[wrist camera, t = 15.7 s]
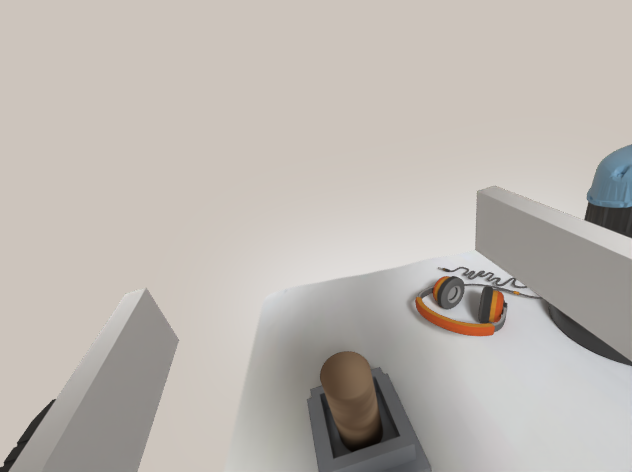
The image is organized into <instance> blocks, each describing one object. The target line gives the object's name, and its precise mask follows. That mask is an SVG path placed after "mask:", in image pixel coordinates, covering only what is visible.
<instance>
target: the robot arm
mask: <svg viewBox="0 0 632 472" xmlns="http://www.w3.org/2000/svg"><path fill="white" fill-rule="evenodd" d="M587 200H588V201H589V202H588V207H587V210H586V215H585V219H584V220H582V219H580V218H577V217H575V216H572V215H569V214H567V213H564V212H561V211H559V210H556V209H554V208H551V207H549V206H546V205H544V204H541V203H538V202H536V201H533V200H531V199H528V198H525V197H523V196H520V195H518V194H515V193H513V192H510V191H507V190H505V189H502V188H500V187H497V186H493V187H489V188H486V189H482V190H479V191H477V213H476V245H475V246H476V247H475V250H476V251H478V252H479V253H481V254H482V255H483V256H485V257H486V258H488V259H489V260H490V261H492V262H493V263H495V264H496V265H497V266H499V267H500V268H502V269H503V270H504V271H506V272H507V273H509V274H510V275H511V276H513V277H514V278H516V279H517V280H518V281H520V282H521V283H523V284H524V285H525V286H527V287H528V288H530V289H531V290H532V291H534V292H535V293H537V294H538V295H539V296H541V297H542V298H544V299H545V300H546V301H548V302H549V311H550V314H551V317H552V319H553V320H554V322H555V323H556V324H557V326H558V327H559V328H560V329H561V330H562V331H563V332H564V333H565V334H566V335H568V336H569V337H570V338H571V339H573V340H574V341H576V342H577V343H579V344H580V345H582V346H584V347H585V348H587V349H589V350H591V351H593V352H595V353H597V354H599V355H602V356H604V357H606V358H609V359H612V360H614V361H617V362H620V363H624V364H627V365H631V366H632V145H629V146H626V147H623V148H621V149H618V150H616V151H614V152H613V153H611V154H610V155H608V156H607V157H605V158H604V159H603V160H602V161H601V163H600V164H599V165H598V167H597V169H596V173H595V176H594V180H593V183H592V186H591V188H590V189H589V191H588V193H587ZM178 341H179V339H178V337H177V336H176V335H175V333H174V331H173V329H172V328H171V326H170V325H169V323H168V322H167V320H166V318H165V317H164V315H163V314H162V312H161V310H160V309H159V307H158V306H157V304H156V302H155V301H154V299H153V298H152V296H151V295H150V293H149V291H148V290H147V288H144V289H140V290H137V291H133V292H130V293H127V294H125V296H124V297H123V298H122V300H121V301H120V303H119V305H118V306H117V308H116V309H115V311H114V312H113V314H112V315H111V317H110V318H109V320H108V321H107V323H106V324H105V326H104V327H103V329H102V330H101V332H100V333H99V335H98V336H97V338H96V339H95V341H94V342H93V344H92V345H91V347H90V349H89V350H88V352H87V353H86V355H85V356H84V358H83V359H82V361H81V362H80V364H79V365H78V367H77V368H76V370H75V371H74V373H73V374H72V376H71V377H70V379H69V380H68V382H67V384H66V385H65V387H64V388H63V390H62V391H61V393H60V394H59V396H58V397H57V399H54V400H52V401H51V402H50V403H49V404H48V405H47V406H46V407H45V408H44V409H43V410H42V411H41V412H40V413H39V414H38V415H37V417H36V418H35V419H34V420H33V421H32V422H31V423H30V425H29V426H28V428H27V429H26V431H25V432H24V434H23V435H22V437H21V438H20V439H19V441H18V442H17V447H15V448H13V450H12V451H11V453H10V454H9V455H8V457H7V458H6V460H5V461H4V466H3V467H0V472H137V471H138V468H139V465H140V462H141V458H142V455H143V452H144V449H145V446H146V442H147V439H148V436H149V433H150V430H151V427H152V424H153V421H154V417H155V414H156V411H157V407H158V405H159V402H160V398H161V395H162V392H163V389H164V386H165V383H166V379H167V376H168V373H169V370H170V366H171V364H172V360H173V357H174V354H175V351H176V348H177V344H178Z"/></svg>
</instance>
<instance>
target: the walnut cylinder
mask: <svg viewBox="0 0 632 472" xmlns="http://www.w3.org/2000/svg"><path fill="white" fill-rule="evenodd" d="M320 379H321V383H322V386H323V389H324V392H325V395H326V398H327V401H328V404H329V407H330V410H331V412H332V415H333V418H334V421H335V424H336V427H337V430H338V433H339V436H340V439H341V441H342V443H343V445H344V446H345V447H346V448H347V449H348V450H349V451H351V452H355V451H358V450H361V449H364V448H367V447H370V446H373V445H376V444H379V443H380V442H381V440H382V436H383V426H382V421H381V416H380V412H379V407H378V402H377V398H376V393H375V388H374V383H373V379H372V374H371V369H370V366H369V363H368V362H367V360H366V359H365V358H364V357H363V356H361V355H360V354H358V353H355V352H349V351H347V352H340V353H337V354H335V355H333V356H331V357H330V358H329V359H328V360H327V361H326V362H325V363H324V365H323V367H322V369H321V373H320Z"/></svg>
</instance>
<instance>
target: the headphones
mask: <svg viewBox="0 0 632 472" xmlns="http://www.w3.org/2000/svg"><path fill="white" fill-rule="evenodd" d="M460 268H464V269H467V271H466V272H465V273H464V274H463V275H465V276H467V275H470V274H471V273H472V272H473V273H472V274H471V275H470V276H469V277H468V278H469V279H474V278H476V277H477V276H478V275H479V274H480V273H481V272H483V273H484V272H485V271H480V272H479V273H478V274H477V275H476V276H475V277H473V278H470V277H471V276H472V275H473V274H474V273H475V271H471V272H470V273H469V274H466V273H467V272H468V271H469V269H468V268H465V267H459V268H457V269H455V270H453V271H450V270H449V269H445V268H440V267H438V269H442V270H444V271H447V272H454V271H456V270H458V269H460ZM483 273H481V274H480V276H481V277H485V276H487V275H488V274H492V275H491V276H490V277H489V278H488V279H487V280H488V281H493V280H494V279H499V280H498V281H496V283H495V284H496V285H498V286H504V285H505V284H507V283H508V282H509V281H511V280H512V279H514V282H513V286H515V287H518V288H527V286H524V287H520V286H516V285H515V281H516V278H511V279H509V280H508V281H507V282H505V283H504V284H502V285H500V284H497V282H499V281H500V280H501V279H500V278H493V279H492V280H489V279H490V278H491V277H492V276H493V275H494V274H493V273H491V272H489V273H487V274H486V275H483V276H482V274H483ZM467 285H478V286H486V287H484V288H483V291H482V295H481V302H480V308H479V320H480V322H482V323H486V324H471V323H465V322H460V321H456V320H452V319H449V318H447V317H444V316H442V315H440V314H437V313H436V312H434V311H432V310H431V309H429V308H428V307H427V306H426V305H425V304H424V303H423V301H422V298H423V297H425V296H427V295H429V294H431V293H433V297H434V298H435V300H436V301H437V302H438V304H439V305H440V306H441V307H443V308H445V309H451V308H453V307H455V306H456V305H457V304H458V303H459V302H460V301H461V299H462V297H463V294H464V286H467ZM492 287H493V288H498V289H493V288H492ZM495 290H502V291H508V292H512V293H514V294H517V295H523V296H527V297H531V298H537V299H544V298H542V297H534V296H528V295H524V294H521V293H519V292H516V291H511V290H507V289H504V288H499V287H495V286H489V285H482V284H464V282H463V281H462V279H460V278H458V277H455V276H452V277H448V276H445V277H442V278H440V279H439V280H438V281H437V282H436V284H435V285H434V286H431V287H429V288H427V289H425V290H423V291H421V292H420V293H419V295H418V297H416V300H415V302H416V308H417V310H418V312H419V313H420V314H421V315H422V316H423V317H424V318H425V319H427V320H428V321H430V322H431V323H433V324H435V325H437V326H439V327H442V328H444V329H447V330H449V331H452V332H456V333H460V334H464V335H470V336H489V335H493V334H494V332H496V331H498V330H500V329H501V328H502V327H503V325H504V322H505V318H506V312H507V303H505V301H504V296H503V294H502V293H501V292H499V291H495ZM501 315H502V318H501ZM489 321H490V322H497V323H495V324H491V323H488V322H489Z"/></svg>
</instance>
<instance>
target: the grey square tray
mask: <svg viewBox="0 0 632 472" xmlns="http://www.w3.org/2000/svg"><path fill="white" fill-rule="evenodd" d="M371 374H372V379H373V383H374V388H375V393H376V398H377V402H378V407H379V412H380V416H381V421H382V426H383V436H382V440H381V442H380V443H379V444H376V445H373V446H370V447H367V448H364V449H361V450H358V451H355V452H351V451H349V450H348V449H347V448H346V447H345V446H344V445H343V443H342V441H341V439H340V436H339V433H338V430H337V427H336V424H335V421H334V418H333V415H332V412H331V410H330V407H329V404H328V401H327V398H326V395H325V392H324V389H323V386H320V387H316V388H313V389H310V390H311V396H312V398H310V399H307V402H308V408H309V414H310V420H311V426H312V433H313V439H314V445H315V451H316V457H317V463H318V469H319V472H431V466H430V464H429V462H428V460H427V457H426V455H425V453H424V451H423V449H422V447H421V445H420V442H419V440H418V438H417V436H416V434H415V432H414V430H413V427H412V425H411V423H410V421H409V419H408V417H407V415H406V412H405V410H404V408H403V406H402V404H401V402H400V400H399V397H398V395H397V393H396V391H395V389H394V387H393V385H392V382H391V380H390V378H389V376H388V374H384V375H383V372H382V370H381V368H380V367H379V368H375V369H372V370H371Z"/></svg>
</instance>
